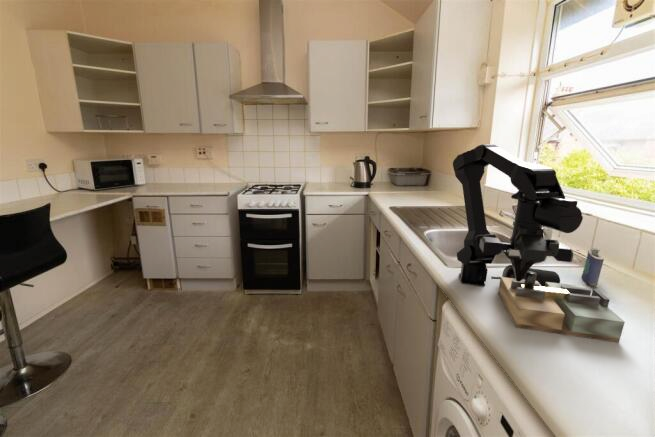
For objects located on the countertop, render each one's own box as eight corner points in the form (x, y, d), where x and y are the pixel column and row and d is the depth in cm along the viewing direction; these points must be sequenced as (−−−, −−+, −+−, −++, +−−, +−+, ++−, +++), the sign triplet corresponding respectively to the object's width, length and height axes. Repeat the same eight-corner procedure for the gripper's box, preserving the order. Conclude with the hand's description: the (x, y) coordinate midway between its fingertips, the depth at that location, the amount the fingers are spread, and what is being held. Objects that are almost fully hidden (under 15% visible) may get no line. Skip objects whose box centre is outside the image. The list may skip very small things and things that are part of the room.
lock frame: (515, 327, 73) (520, 300, 71) (498, 293, 89) (501, 270, 87) (619, 342, 68) (627, 313, 66) (580, 303, 84) (586, 279, 82)
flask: (598, 288, 92) (606, 254, 89) (585, 285, 93) (593, 252, 91) (590, 276, 100) (598, 244, 97) (579, 274, 101) (586, 243, 99)
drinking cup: (545, 262, 95) (486, 260, 92) (567, 272, 88) (504, 270, 84) (539, 285, 97) (480, 284, 93) (560, 297, 89) (498, 296, 86)
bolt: (522, 294, 78) (526, 274, 76) (519, 289, 80) (523, 270, 78) (569, 299, 75) (574, 279, 74) (564, 295, 77) (569, 275, 76)
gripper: (492, 226, 69) (483, 290, 73) (592, 234, 64) (576, 302, 68) (483, 214, 80) (475, 271, 84) (568, 220, 75) (555, 280, 79)
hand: (517, 280), depth 78 cm, fingers closed
